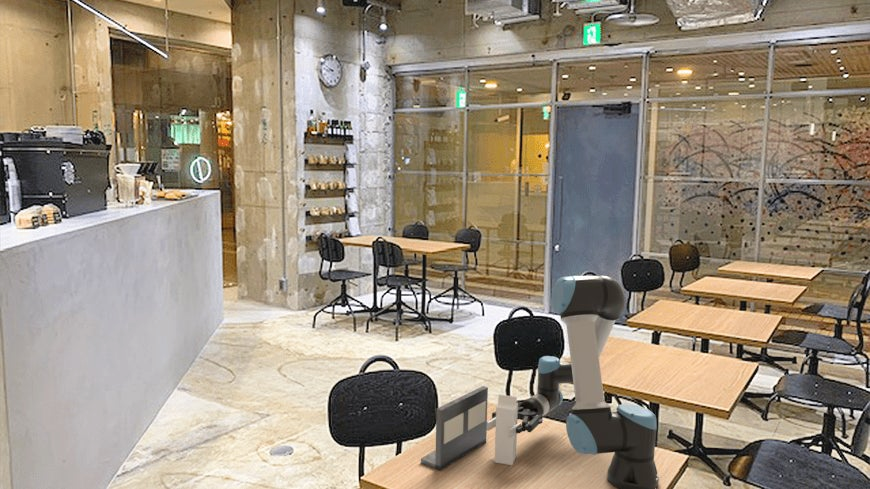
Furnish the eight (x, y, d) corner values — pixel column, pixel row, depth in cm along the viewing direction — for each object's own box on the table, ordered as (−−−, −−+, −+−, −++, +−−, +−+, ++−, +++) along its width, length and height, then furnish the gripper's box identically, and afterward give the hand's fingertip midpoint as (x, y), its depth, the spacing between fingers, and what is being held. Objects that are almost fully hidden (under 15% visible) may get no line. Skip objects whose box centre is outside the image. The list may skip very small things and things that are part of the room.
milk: (498, 454, 209) (500, 391, 206) (516, 457, 207) (518, 393, 204) (494, 462, 203) (496, 397, 200) (512, 465, 201) (514, 400, 198)
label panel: (486, 442, 217) (488, 387, 215) (441, 471, 197) (442, 410, 194) (467, 435, 222) (468, 381, 220) (420, 462, 202) (421, 403, 199)
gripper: (560, 426, 212) (525, 450, 194) (508, 411, 224) (471, 432, 206) (561, 405, 211) (526, 427, 193) (509, 390, 223) (472, 410, 205)
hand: (498, 429), depth 200 cm, fingers closed on milk, 7 cm apart
